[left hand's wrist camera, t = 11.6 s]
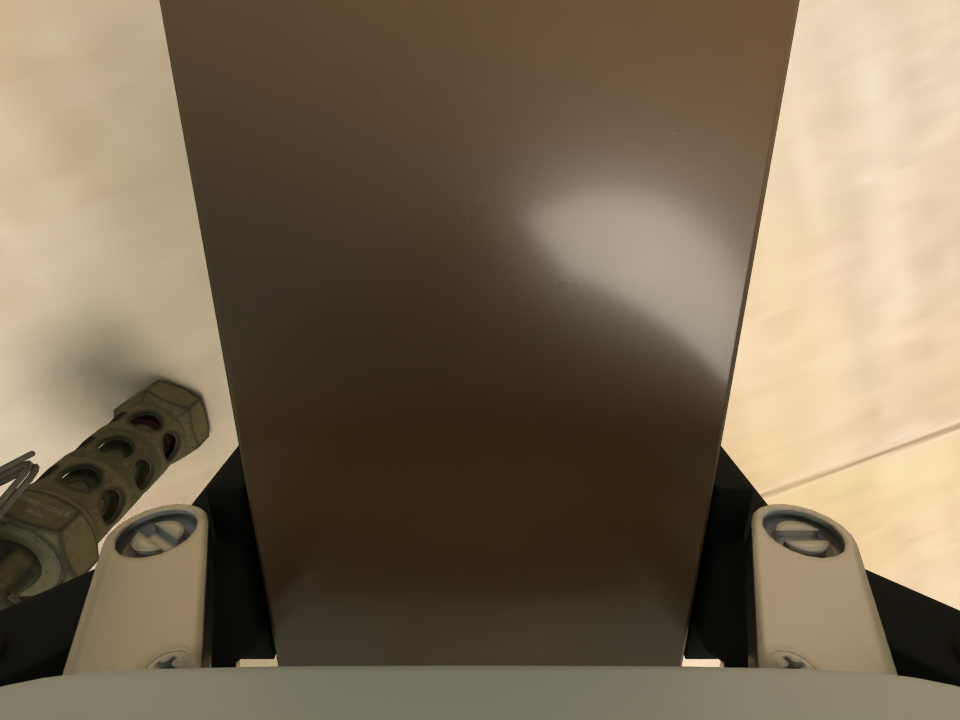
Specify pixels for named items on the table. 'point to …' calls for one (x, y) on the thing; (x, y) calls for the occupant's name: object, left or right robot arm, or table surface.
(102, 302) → the table surface
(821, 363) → the table surface
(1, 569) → the grenade
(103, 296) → the table surface
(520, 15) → the post
